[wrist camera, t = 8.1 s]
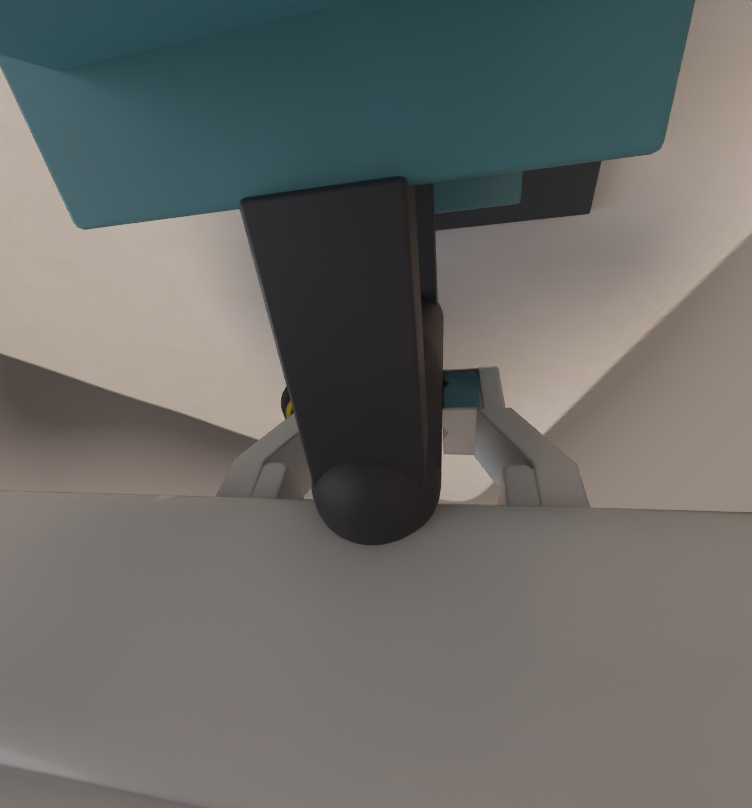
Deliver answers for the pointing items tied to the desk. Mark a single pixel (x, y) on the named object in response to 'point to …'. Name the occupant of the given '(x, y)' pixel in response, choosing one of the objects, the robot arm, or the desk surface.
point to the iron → (339, 171)
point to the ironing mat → (535, 198)
